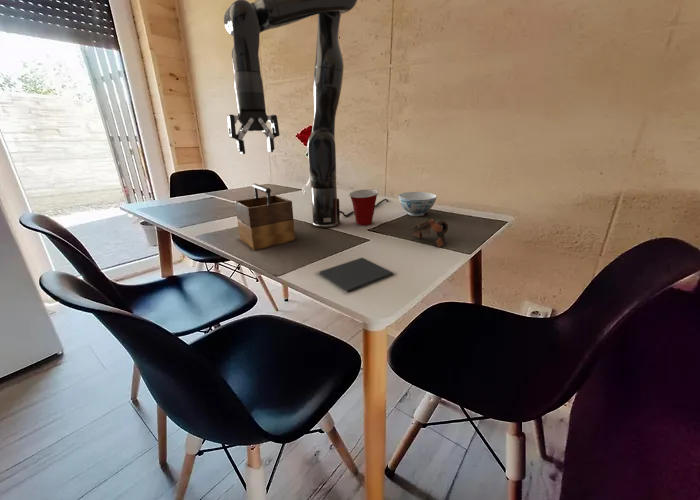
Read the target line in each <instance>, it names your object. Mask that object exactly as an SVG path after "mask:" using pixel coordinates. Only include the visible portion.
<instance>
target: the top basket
mask: <svg viewBox="0 0 700 500" xmlns="http://www.w3.org/2000/svg"><path fill="white" fill-rule="evenodd" d="M252 189H253V191H254V192H253V193H254V197H251V198H246V199H239V200H234V201H233V202H234V208H235V209H234V210H235V214H236V221H237V220H239V221H240V222H242V223H244V224H245V225H247V226H248V227H250V228H255V227H260V226H264V225H269V224H274V223H279V222H284V221H289V220H294V208H293V201H292V200H290V199H288V198H285V197H282V196H279V195H277V194H274V195H273V194H272V195H271V193H272V189H271V188H270V187H266V186H264V185H262V184H258V183H255V182H254V183H253V184H252ZM259 191H260V192H263V193H265V194H266V196H260V197H259V193H258V192H259Z"/></svg>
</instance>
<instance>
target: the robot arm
mask: <svg viewBox="0 0 700 500" xmlns="http://www.w3.org/2000/svg"><path fill="white" fill-rule="evenodd" d="M357 2H358V0H256V1H253V2H250V1H248V0H234V1H233V2H232V3H231V5H230V6H229V7H228V8H227V10H226V11H225V13H224V16H223V25H224V27H225V30H226V31H227V32H228V34H230V36H232V38H233V47H232V50H231V62H232V68H233V83H234V92H235V97H236V99H235V100H236V104H237V111H238V114H237V115H235V114H232V113H231V114H227V116H226V119H227V129H228V137H229V138H230V139H234V140H235V141H236V147H237V150H238V152H239V153H240V154H241V155H245V154H246V147H245V140H243V139H244V138H245V136H246V134H247V133H248V132H254V131H255V132H262V133H263V134H264V135H265V136H266V146H267V152H268V153H273V152H274V150H275V141H274V140H275V138H277V137H280V129H279V122H278V121H279V120H278V115H277V114H271V115H267V111H266V109H267V108H266V100H265V91H264V82H263V77H262V71H261V62H260V54H259V53H260V37H261V36H260V34H261V33H263V32H265V31H268V30H273V29H278V28H281V27H285V26H289V25H291V24H295V23H297V22H300V21H302V20H306V19H307V18H311V17H313V16H316V15H317V37H316V48H315V61H314V70H313V88H312V90H313V92H312V93H313V106H314V107H313V111H314V112H313V120H312V121H313V122H312V128H311V133H310V135H309V137H308V140H307V157H308V170H309V178H310V180H309V181H310V192H311V193H310V194H311V210H312V211H311V212H312V213H311V214H312V226H313V227H316V228H320V229H327V228H328V229H329V228H334V227H336V226H338V225H340V224H341V218H340V217H341V214H342V215H343V217H345V218H346V217H349V216H351V215H353V214H354V210H352V211H350V212H349V213H348V214H345V212H344V211H342V210H341V209H340V199H339V198H338V191H337V187H338V186H337V154H336V151H337V150H336V136H335V135H336V134H335V131H336V130H335V128H336V116H337V110H338V106H339V103H340V98H341V94H342V93H341V92H342V88H343V78H344V68H345V67H344V66H345V65H344V58H343V54H342V51H341V50H342V49H341V46H340V40H339V33H340V32H339V31H340V23H341V22H340V21H341V16H342V15H343V14H347V13H348V12H351V11H352V10H353V8H354V7H356V4H357ZM238 122H239V123H240V124H241V125H240V127H239V129H238V132H237V131H236V124H237V123H238ZM267 122H268V123H270V128H271V129H270V128H269V127H268V125H267ZM383 202H388V203H389V199H388V198H383V199H382V200H380V201H379V202H377V203H375V208H377V207H378V206H379V205H380V204H382V203H383Z"/></svg>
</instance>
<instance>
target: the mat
mask: <svg viewBox="0 0 700 500" xmlns="http://www.w3.org/2000/svg"><path fill="white" fill-rule="evenodd" d="M319 274H320V275H321V276H323V277H324V278H325V279H327V280H329V281H330V282H331V283H333V284H334V285H336V286H338V287H339V288H341V289H342V290H344V291H346V292H347V293H350V292H352V291H354V290H358V289H360V288H362V287H365V286H367V285H370V284H372V283H375V282H377V281H380V280H383V279H385V278H388V277H389V276H392V275H393V274H394V273H393V271H391V270H388V269H386V268H384V267H382V266H380V265H379V264H376V263H374V262H372V261H370V260H368V259H366V258H363V257H359V258H357V259H354V260H350V261H348V262H345V263H342V264H339V265H336V266H332V267H329V268H327V269H323V270H320V271H319Z"/></svg>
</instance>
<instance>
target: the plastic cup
mask: <svg viewBox="0 0 700 500" xmlns="http://www.w3.org/2000/svg"><path fill="white" fill-rule="evenodd" d="M378 194H379V191H378V190H376V189H370V188H367V189H357V190H353V191H351V192H349V193H348V196H349V198H350V199H351V202H352V208H353V211H354V213H353V215H354V217H355V218H354V219H355V222H356V225H358V226H369V225H372V223H373V219H374V213H375V208H376V207H375V205H376V202H377V197H378Z"/></svg>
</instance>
